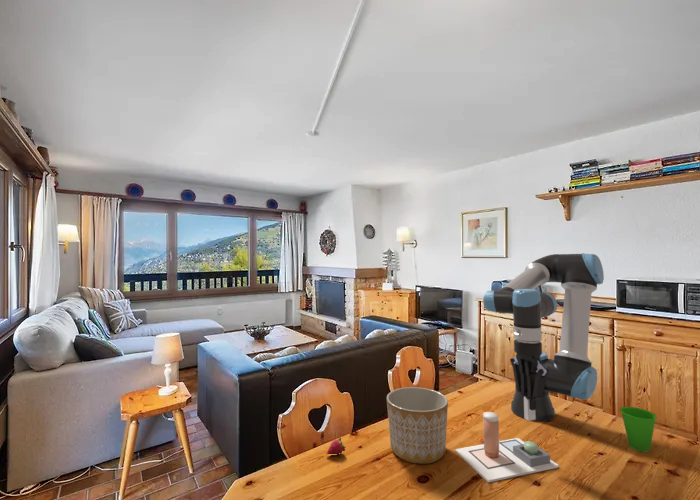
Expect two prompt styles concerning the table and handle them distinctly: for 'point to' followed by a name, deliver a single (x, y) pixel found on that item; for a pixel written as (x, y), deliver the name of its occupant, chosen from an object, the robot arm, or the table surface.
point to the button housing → (531, 460)
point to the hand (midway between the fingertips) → (529, 418)
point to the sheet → (500, 461)
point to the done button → (530, 448)
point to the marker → (491, 434)
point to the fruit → (336, 447)
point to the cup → (638, 427)
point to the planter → (417, 424)
